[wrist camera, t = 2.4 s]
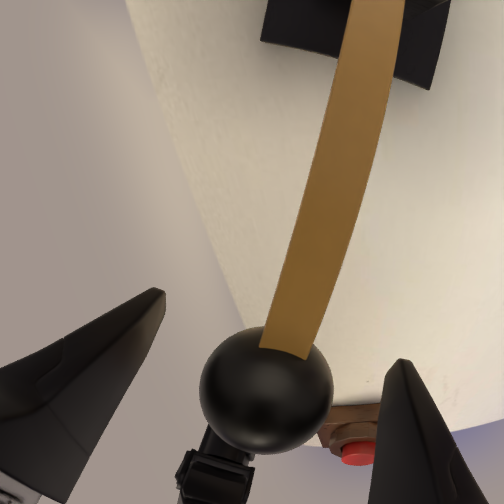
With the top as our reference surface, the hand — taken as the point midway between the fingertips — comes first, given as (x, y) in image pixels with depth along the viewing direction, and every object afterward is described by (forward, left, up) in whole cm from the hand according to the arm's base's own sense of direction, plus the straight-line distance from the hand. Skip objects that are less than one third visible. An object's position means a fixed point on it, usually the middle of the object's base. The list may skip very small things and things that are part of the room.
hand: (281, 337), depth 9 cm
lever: (+2, +6, -2) cm, 6 cm away
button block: (+5, -27, -12) cm, 30 cm away
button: (+5, -27, -8) cm, 29 cm away
